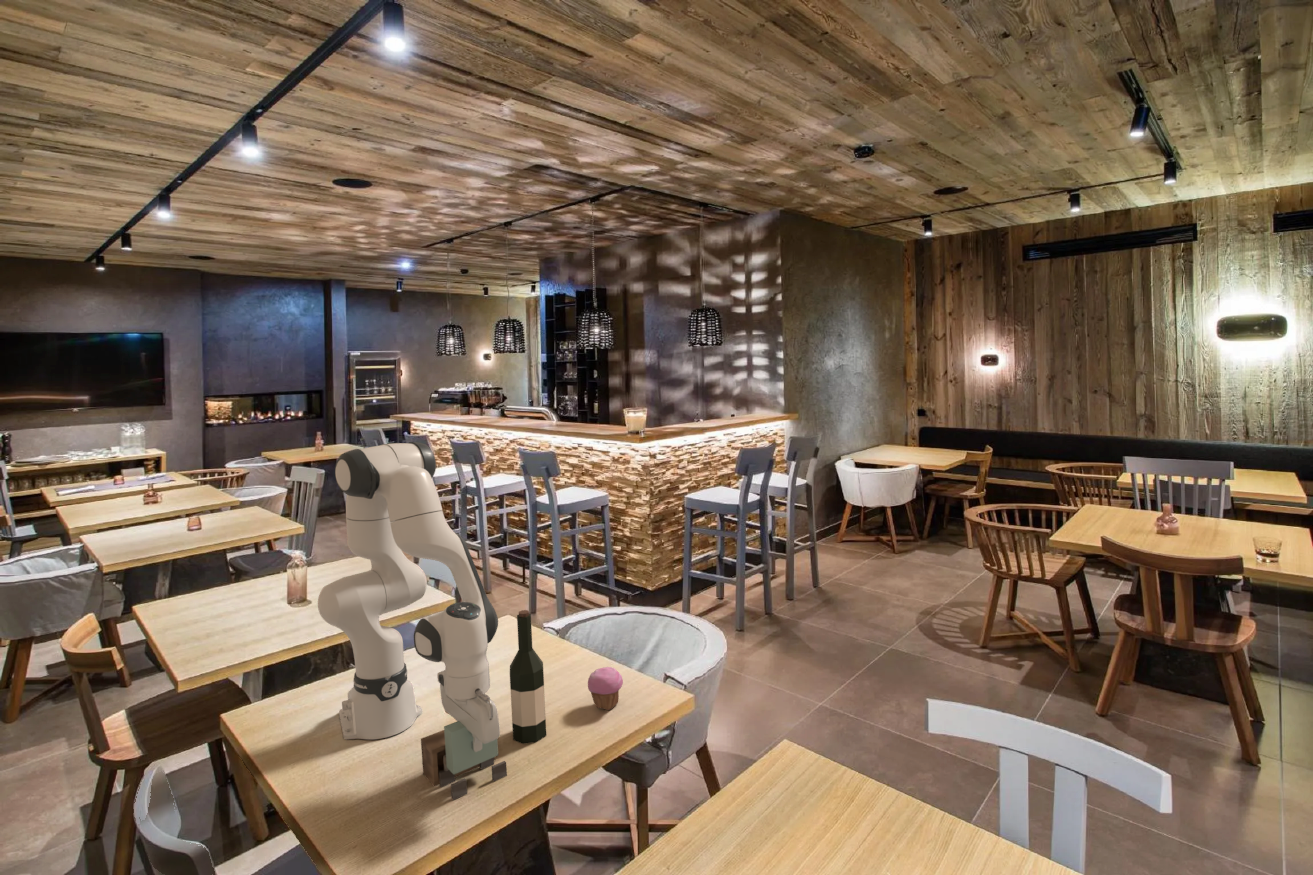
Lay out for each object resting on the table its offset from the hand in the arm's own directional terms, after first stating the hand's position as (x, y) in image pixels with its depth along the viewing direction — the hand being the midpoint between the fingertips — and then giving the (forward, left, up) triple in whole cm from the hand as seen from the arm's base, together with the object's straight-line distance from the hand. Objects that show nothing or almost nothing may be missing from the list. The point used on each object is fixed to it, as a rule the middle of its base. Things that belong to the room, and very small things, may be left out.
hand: (471, 744), depth 141 cm
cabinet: (-3, 0, -8) cm, 9 cm away
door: (0, 0, -4) cm, 4 cm away
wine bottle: (-8, +18, -8) cm, 21 cm away
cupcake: (-6, +39, -8) cm, 40 cm away
